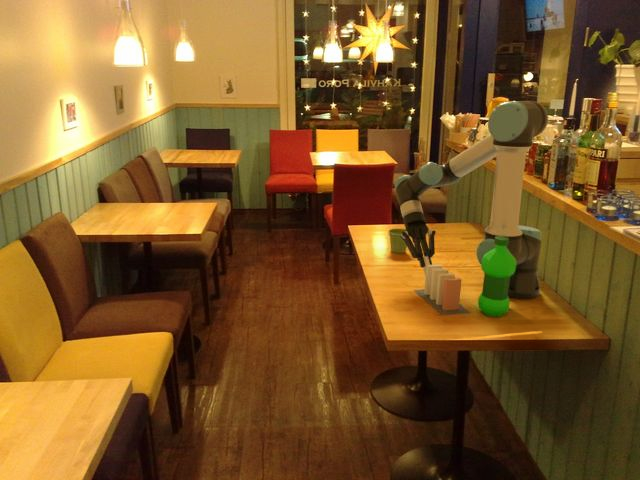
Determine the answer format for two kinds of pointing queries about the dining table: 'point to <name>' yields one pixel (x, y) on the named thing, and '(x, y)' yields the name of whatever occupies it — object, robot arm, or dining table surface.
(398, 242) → the plant pot
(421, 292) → the mat
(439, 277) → the domino
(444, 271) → the domino
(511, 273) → the plastic bottle
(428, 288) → the domino
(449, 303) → the domino
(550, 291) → the dining table surface
